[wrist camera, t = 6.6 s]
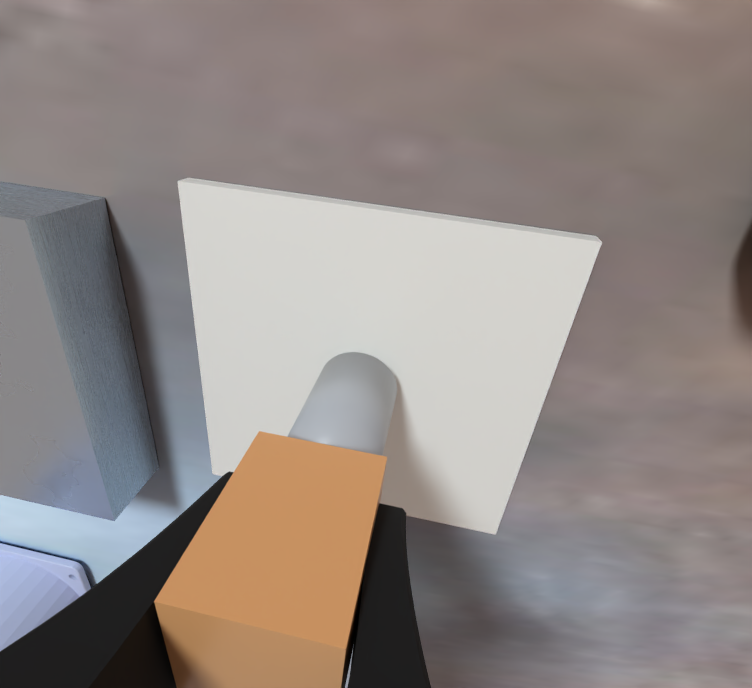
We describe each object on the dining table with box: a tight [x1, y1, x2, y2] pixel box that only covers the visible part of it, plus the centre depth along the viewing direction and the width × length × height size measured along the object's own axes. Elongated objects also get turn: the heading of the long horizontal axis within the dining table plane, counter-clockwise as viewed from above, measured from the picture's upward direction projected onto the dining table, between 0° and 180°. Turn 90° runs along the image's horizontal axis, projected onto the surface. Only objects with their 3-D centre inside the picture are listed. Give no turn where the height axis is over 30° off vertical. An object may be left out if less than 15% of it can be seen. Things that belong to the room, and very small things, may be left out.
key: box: [154, 352, 397, 688], centre depth 11 cm, size 3×3×8 cm
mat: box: [178, 178, 602, 535], centre depth 16 cm, size 12×12×1 cm
